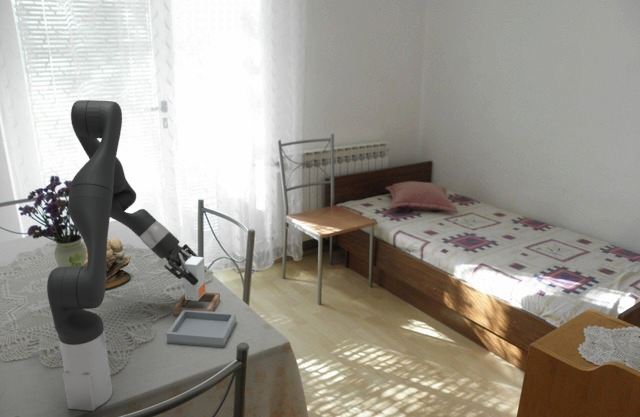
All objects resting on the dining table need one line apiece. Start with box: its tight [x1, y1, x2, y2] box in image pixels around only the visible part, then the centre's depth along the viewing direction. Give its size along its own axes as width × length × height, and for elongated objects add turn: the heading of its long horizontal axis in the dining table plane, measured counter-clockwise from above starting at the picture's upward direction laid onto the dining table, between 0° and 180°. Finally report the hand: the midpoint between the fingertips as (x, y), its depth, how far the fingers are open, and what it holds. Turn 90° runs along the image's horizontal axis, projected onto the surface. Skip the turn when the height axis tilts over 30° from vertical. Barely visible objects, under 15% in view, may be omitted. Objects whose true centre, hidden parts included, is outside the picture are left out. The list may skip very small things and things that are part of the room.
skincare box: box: [183, 255, 206, 302], centre depth 158 cm, size 6×4×12 cm
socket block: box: [172, 291, 221, 317], centre depth 161 cm, size 11×11×2 cm
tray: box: [166, 310, 237, 348], centre depth 148 cm, size 13×16×3 cm
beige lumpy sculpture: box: [83, 238, 132, 292], centre depth 174 cm, size 18×12×17 cm, turn 129°
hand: (200, 278), depth 158 cm, fingers closed on skincare box, 6 cm apart
